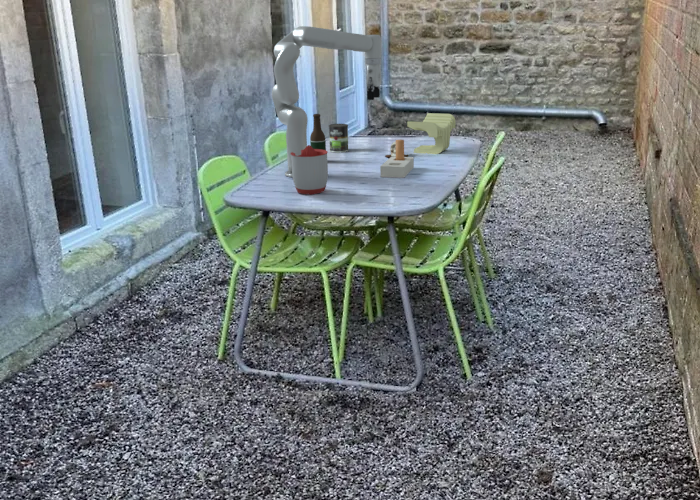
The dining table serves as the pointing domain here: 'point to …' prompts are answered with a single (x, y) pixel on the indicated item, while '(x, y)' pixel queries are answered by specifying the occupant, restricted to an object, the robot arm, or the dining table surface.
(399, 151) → the peg
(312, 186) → the citrus juicer
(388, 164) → the block
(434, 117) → the slatted curved stool
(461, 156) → the dining table surface
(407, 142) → the dining table surface
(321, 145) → the beer bottle
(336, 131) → the coffee can
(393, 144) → the skull
